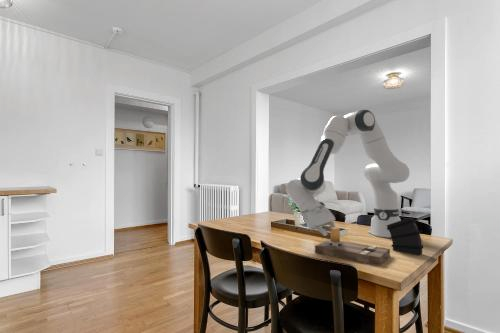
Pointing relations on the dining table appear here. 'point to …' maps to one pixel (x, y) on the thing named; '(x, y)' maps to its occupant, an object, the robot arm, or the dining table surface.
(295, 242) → the dining table surface
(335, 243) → the wooden block
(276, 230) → the dining table surface
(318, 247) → the board
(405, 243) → the magazine
